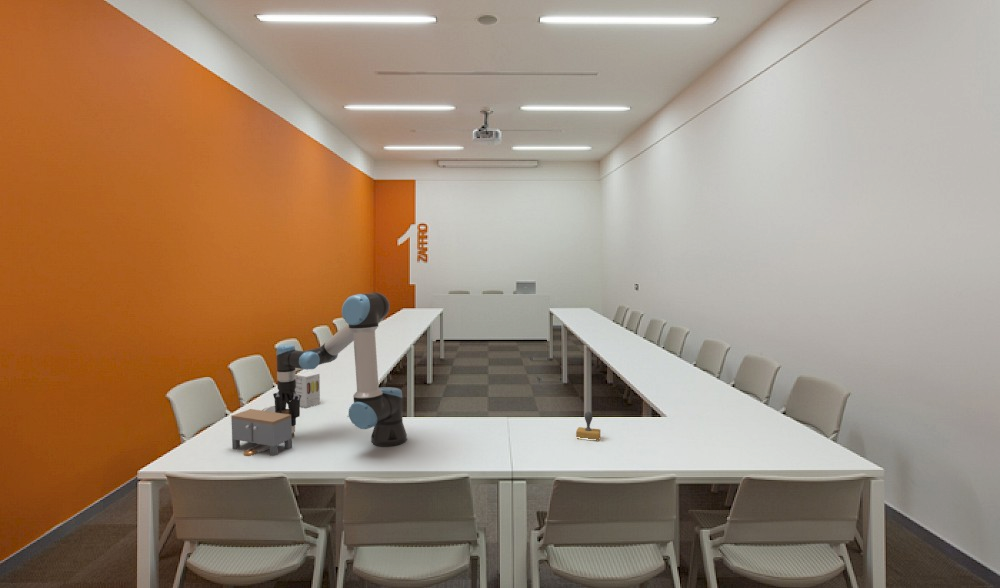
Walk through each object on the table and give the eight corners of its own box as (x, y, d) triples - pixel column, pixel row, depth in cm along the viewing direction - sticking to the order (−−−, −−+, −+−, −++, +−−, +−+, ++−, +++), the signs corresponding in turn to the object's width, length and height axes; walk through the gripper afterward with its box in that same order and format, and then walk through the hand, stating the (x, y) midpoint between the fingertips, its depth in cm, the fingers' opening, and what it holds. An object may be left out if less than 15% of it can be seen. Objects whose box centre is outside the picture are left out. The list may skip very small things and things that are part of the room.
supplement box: (306, 408, 275) (305, 376, 274) (294, 405, 279) (293, 374, 278) (320, 404, 283) (320, 373, 282) (308, 401, 288) (308, 371, 286)
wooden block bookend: (296, 436, 233) (295, 409, 232) (259, 452, 214) (258, 423, 213) (285, 434, 235) (284, 408, 234) (248, 450, 216) (247, 422, 215)
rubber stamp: (575, 439, 231) (576, 412, 231) (578, 434, 237) (578, 408, 236) (598, 441, 228) (599, 414, 228) (600, 437, 234) (600, 410, 233)
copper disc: (258, 452, 214) (258, 450, 214) (249, 456, 210) (249, 453, 210) (250, 451, 216) (250, 448, 216) (241, 455, 211) (241, 452, 211)
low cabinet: (292, 447, 220) (291, 414, 219) (272, 456, 210) (271, 422, 209) (251, 440, 227) (250, 408, 226) (230, 449, 217) (229, 416, 216)
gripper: (308, 379, 231) (309, 431, 233) (277, 376, 237) (279, 427, 239) (295, 383, 224) (297, 437, 226) (264, 380, 230) (266, 432, 232)
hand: (288, 431), depth 232 cm, fingers closed on wooden block bookend, 4 cm apart
